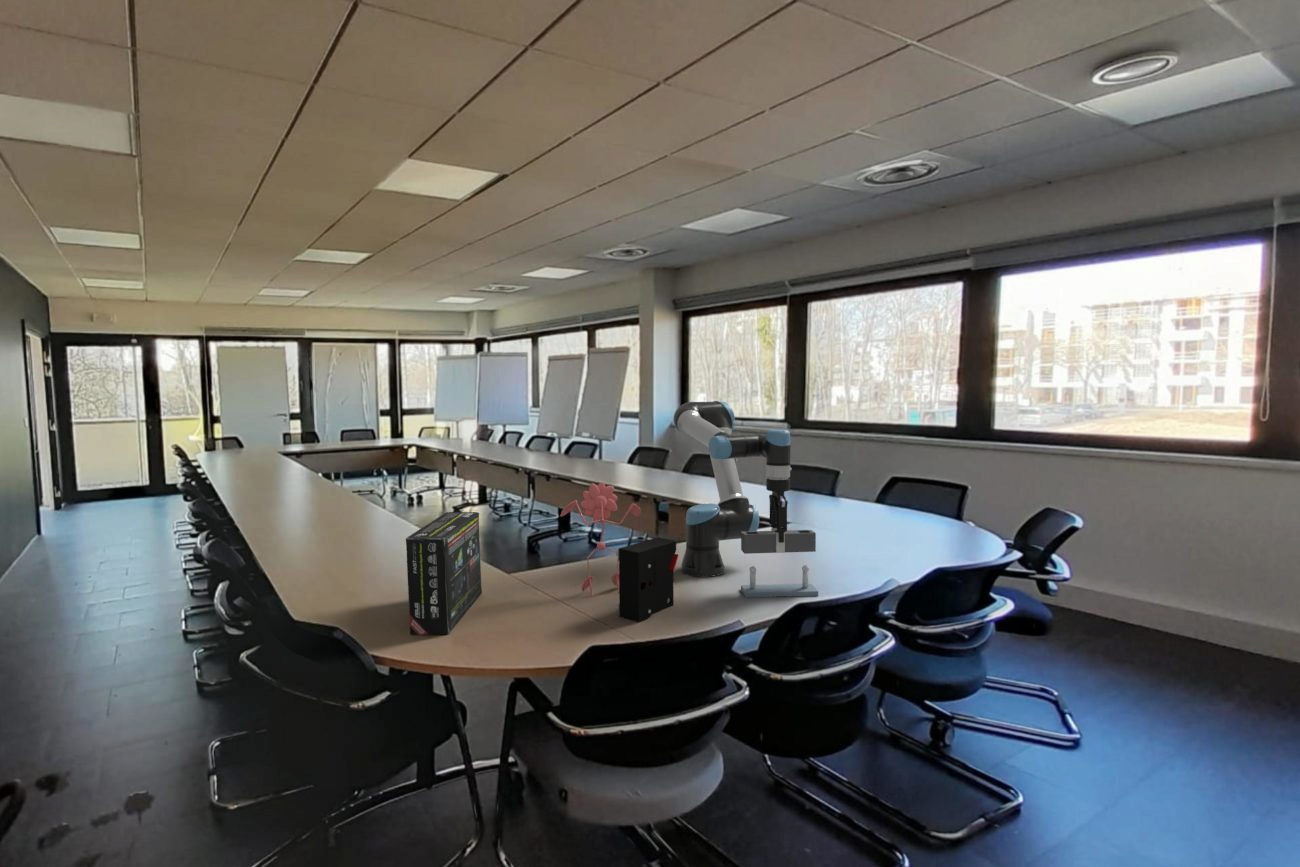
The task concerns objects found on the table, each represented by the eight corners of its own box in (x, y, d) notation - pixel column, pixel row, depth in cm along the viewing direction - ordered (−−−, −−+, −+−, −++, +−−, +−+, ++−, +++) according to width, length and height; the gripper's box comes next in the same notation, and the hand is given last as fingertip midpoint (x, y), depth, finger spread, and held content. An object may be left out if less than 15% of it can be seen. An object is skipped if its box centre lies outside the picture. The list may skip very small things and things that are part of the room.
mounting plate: (745, 597, 210) (746, 570, 209) (740, 589, 218) (741, 563, 217) (818, 595, 211) (818, 568, 211) (810, 588, 219) (811, 561, 219)
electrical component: (652, 599, 208) (652, 536, 207) (678, 606, 202) (678, 541, 200) (613, 615, 195) (613, 547, 193) (640, 623, 188) (640, 552, 187)
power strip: (744, 553, 213) (744, 534, 213) (741, 549, 218) (741, 531, 218) (815, 551, 215) (815, 533, 214) (810, 547, 220) (810, 529, 219)
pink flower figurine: (645, 590, 217) (644, 482, 215) (567, 600, 208) (564, 487, 206) (630, 578, 231) (628, 477, 229) (556, 587, 222) (554, 481, 220)
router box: (448, 593, 215) (445, 511, 213) (482, 593, 215) (480, 511, 213) (406, 636, 179) (403, 537, 177) (448, 636, 179) (445, 537, 177)
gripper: (797, 481, 206) (797, 556, 208) (782, 474, 224) (782, 543, 226) (773, 482, 206) (773, 557, 207) (760, 474, 224) (759, 543, 225)
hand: (778, 549), depth 217 cm, fingers closed on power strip, 5 cm apart
